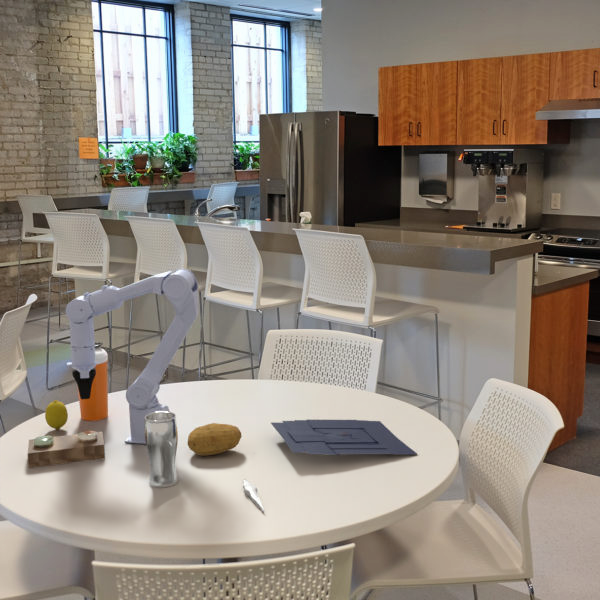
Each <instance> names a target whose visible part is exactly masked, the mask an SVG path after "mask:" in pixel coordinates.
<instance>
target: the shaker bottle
mask: <svg viewBox="0 0 600 600" xmlns="http://www.w3.org/2000/svg"><path fill="white" fill-rule="evenodd" d="M102 345H104V343H103V342H96V341H95V360H96V364H97V365H96V366H95V367H94V368H95V369H96V375H95V377H94V380H93V383H92V387H91V395H90V399H81V398H80V394H79V390H78V386H77V385H76V387H77V393H78V394H77V395H78V402H79V411H80V418H81V420H82V421H85V420H86V422H97V421H102V420H104V419H106V418H108V416H109V399H108V398H109V397H108V392H109V391H108V390H109V389H108V388H109V387H108V385H109V384H108V383H109V382H108V361H109V358H108V357H109V356H108V353H107V351H106V350H105V349H103V348H102Z"/></svg>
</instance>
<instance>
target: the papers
mask: <svg viewBox="0 0 600 600" xmlns="http://www.w3.org/2000/svg"><path fill="white" fill-rule="evenodd" d="M270 424H271V425H272V427H273V428H274V429H275V431H276V432H277V433H278V434H279V436H280V437H281V438H282V439H283V441H284V442H285V443H286V445H287V447H289V449H290V451H291V452H292V453H307V454H308V455H324V456H325V455H326V456H331V455H332V456H339V455H418V453H417V452H416V451H414V450H413V449H412V448H410V447H409V445H407V444H406V443H404V441H402V440H401V439H399V438H398V437H397V436H396V435H395V434H394V433H393V432H391V431H390V430H389V429H388V427H387V426H386V425H385V424H383V423H382V421H381V420H364V419H363V420H361V419H301V420H300V419H297V420H296V419H294V420H282V421H281V422H270Z"/></svg>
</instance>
